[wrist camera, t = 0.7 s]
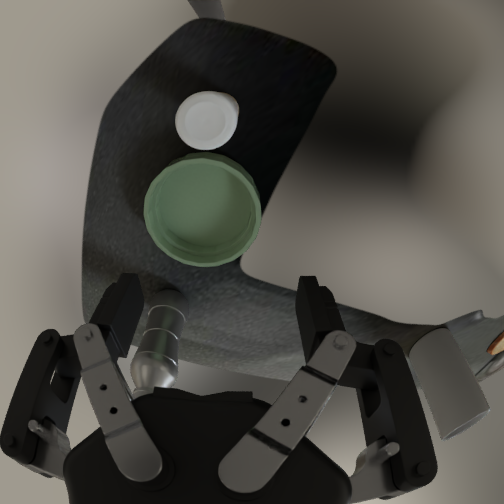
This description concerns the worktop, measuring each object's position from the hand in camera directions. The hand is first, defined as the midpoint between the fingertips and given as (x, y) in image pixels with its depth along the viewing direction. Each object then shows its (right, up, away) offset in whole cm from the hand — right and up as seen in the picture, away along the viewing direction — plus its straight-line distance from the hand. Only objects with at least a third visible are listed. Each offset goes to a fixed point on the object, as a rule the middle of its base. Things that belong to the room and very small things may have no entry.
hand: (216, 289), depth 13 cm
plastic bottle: (-11, -6, +31) cm, 34 cm away
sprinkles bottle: (-2, +18, +16) cm, 25 cm away
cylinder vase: (+46, -21, +42) cm, 66 cm away
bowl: (-4, +8, +22) cm, 24 cm away
